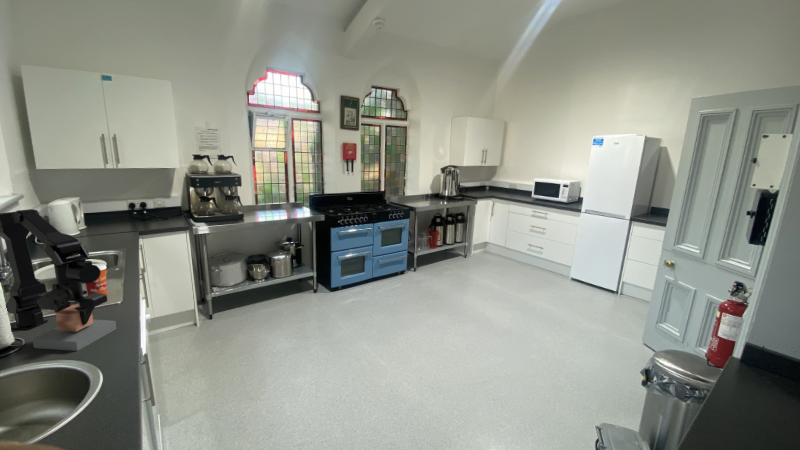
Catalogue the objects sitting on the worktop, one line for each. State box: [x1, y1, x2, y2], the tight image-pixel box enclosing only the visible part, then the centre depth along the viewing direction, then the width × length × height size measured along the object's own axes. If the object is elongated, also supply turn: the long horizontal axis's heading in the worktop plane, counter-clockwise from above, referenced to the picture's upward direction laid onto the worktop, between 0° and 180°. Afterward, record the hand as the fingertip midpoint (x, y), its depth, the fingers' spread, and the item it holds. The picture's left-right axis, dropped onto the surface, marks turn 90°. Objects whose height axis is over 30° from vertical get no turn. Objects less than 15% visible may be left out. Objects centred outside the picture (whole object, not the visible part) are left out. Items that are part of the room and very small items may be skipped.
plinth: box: [32, 319, 117, 352], centre depth 113 cm, size 14×14×3 cm
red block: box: [55, 304, 94, 332], centre depth 112 cm, size 6×6×6 cm
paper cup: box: [84, 263, 108, 296], centre depth 142 cm, size 8×8×14 cm
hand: (75, 323), depth 112 cm, fingers closed on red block, 6 cm apart
